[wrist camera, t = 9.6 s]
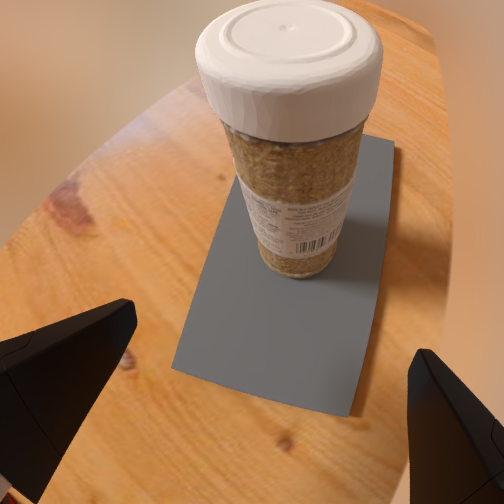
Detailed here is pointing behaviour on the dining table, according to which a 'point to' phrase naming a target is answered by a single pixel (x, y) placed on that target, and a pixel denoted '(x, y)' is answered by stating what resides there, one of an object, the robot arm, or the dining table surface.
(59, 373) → the robot arm
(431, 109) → the dining table surface
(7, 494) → the canned food
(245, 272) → the charcoal mat
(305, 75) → the spice jar
